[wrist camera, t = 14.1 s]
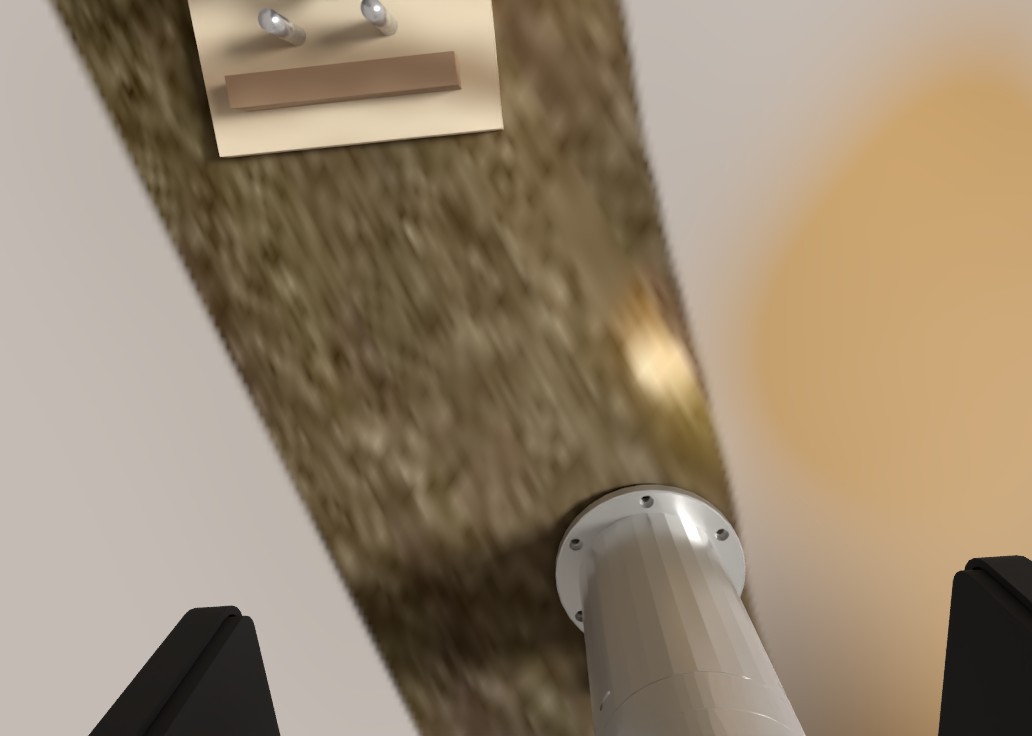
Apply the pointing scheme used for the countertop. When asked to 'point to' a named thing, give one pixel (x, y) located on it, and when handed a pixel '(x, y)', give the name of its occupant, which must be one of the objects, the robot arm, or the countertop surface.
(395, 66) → the pin stand
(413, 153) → the countertop surface
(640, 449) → the countertop surface
